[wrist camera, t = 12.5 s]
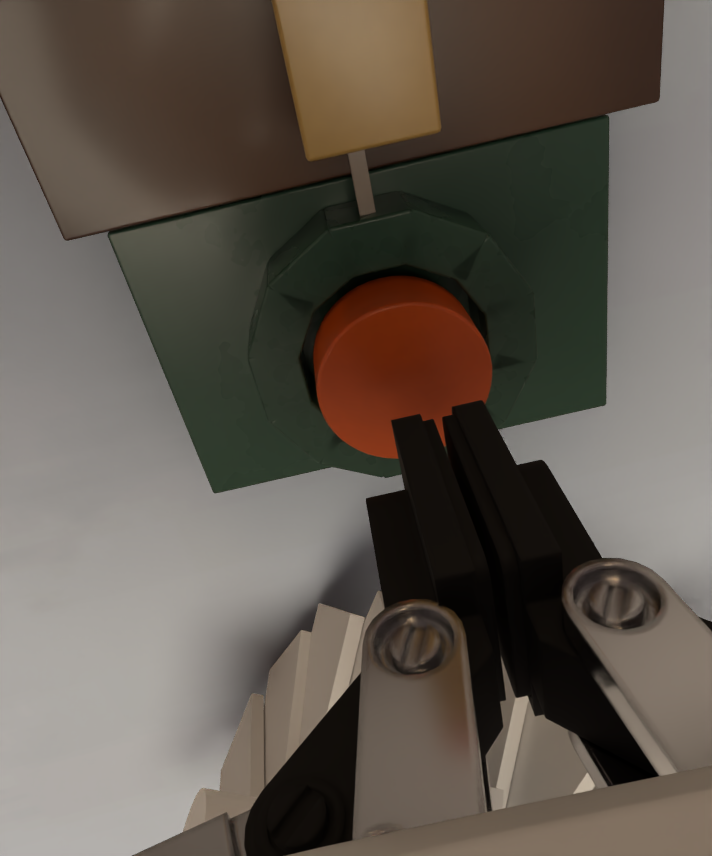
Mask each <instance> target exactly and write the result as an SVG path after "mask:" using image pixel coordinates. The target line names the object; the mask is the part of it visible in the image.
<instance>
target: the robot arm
mask: <svg viewBox="0 0 712 856" xmlns="http://www.w3.org/2000/svg"><path fill="white" fill-rule="evenodd" d="M442 423H443V430H444V436H445V443H446V449H447V453H446V450H445V448H444V445H443V442H442V440H441V437H440V435H439V432H438V429H437V427H436V424H435V421H434V419H430V420H426V421H423V420H422V417H421V415H420V414H416V415H412V416H407V417H403V418H398V419H394V420H391V424H392V429H393V434H394V439H395V444H396V448H397V453H398V458H399V463H400V468H401V473H402V478H403V483H404V487H405V490H402V491H397V492H393V493H388V494H384V495H379V496H375V497H370V498H366V504H367V510H368V516H369V521H370V527H371V533H372V539H373V544H374V550H375V556H376V562H377V568H378V573H379V579H380V585H381V591H382V596H383V602H384V608H385V609H384V610H382V611H381V612H380V613H379V614H378V615H377V616H376V617H375V618H373V620H372V621H371V623H370V624H369V626H368V628H367V629H366V631H365V635H364V639H363V644H362V663H361V673H360V674H359V675H358V676H357V678H356V679H355V680H354V681H353V682H352V684H351V685H350V686H349V687H348V688H347V690H346V691H345V692H344V693H343V694H342V696H341V697H340V698H339V699H338V700H337V702H336V703H335V704H334V705H333V706H332V708H331V709H330V710H329V711H328V712H327V714H326V715H325V716H324V717H323V718H322V720H321V721H320V722H319V723H318V724H317V726H316V727H315V728H314V729H313V730H312V732H311V733H310V734H309V735H308V736H307V738H306V739H305V740H304V741H303V742H302V744H301V745H300V746H299V747H298V748H297V750H296V751H295V752H294V753H293V754H292V756H291V757H290V758H289V759H288V760H287V762H286V763H285V764H284V765H283V766H282V768H281V769H280V770H279V771H278V772H277V774H276V775H275V776H274V777H273V778H272V780H271V781H270V782H269V783H268V784H267V786H266V787H265V788H264V789H263V790H262V792H261V793H260V795H259V796H258V798H257V800H256V801H255V803H254V804H253V806H252V807H251V809H250V810H248V811H246V812H244V813H241V814H239V815H237V816H235V817H233V818H230V816H229V815H228V813H227V812H226V813H223V814H221V815H219V816H217V817H215V818H213V819H210V820H208V821H206V822H204V823H202V824H200V825H197V826H195V827H193V828H191V829H189V830H187V831H184V832H182V833H180V834H178V835H176V836H174V837H171V838H169V839H167V840H165V841H163V842H161V843H158V844H156V845H154V846H152V847H150V848H148V849H145V850H143V851H141V852H139V853H137V854H135V855H132V856H712V622H711V621H708V620H705V619H702V618H700V617H698V616H697V615H696V614H695V613H694V612H693V610H692V609H691V608H690V607H689V606H688V605H687V604H686V603H685V602H684V601H683V600H682V599H681V598H680V596H679V595H678V594H677V593H676V592H675V591H674V590H673V589H672V588H671V587H670V586H669V585H668V583H667V582H666V581H665V580H664V579H663V578H661V577H660V576H659V575H658V574H657V573H655V572H654V571H653V570H652V569H650V568H648V567H646V566H643V565H641V564H639V563H637V562H634V561H629V560H625V559H621V558H602V557H601V555H600V553H599V552H598V550H597V548H596V547H595V545H594V543H593V542H592V540H591V538H590V537H589V535H588V533H587V532H586V530H585V528H584V527H583V525H582V523H581V521H580V520H579V518H578V516H577V515H576V513H575V511H574V510H573V508H572V506H571V505H570V503H569V501H568V500H567V498H566V496H565V494H564V493H563V491H562V489H561V488H560V486H559V484H558V483H557V481H556V479H555V478H554V476H553V474H552V473H551V471H550V469H549V468H548V466H547V465H546V463H545V462H544V461H542V460H538V461H533V462H529V463H524V464H520V465H516V463H515V461H514V459H513V457H512V455H511V453H510V452H509V450H508V448H507V446H506V444H505V442H504V440H503V438H502V436H501V434H500V433H499V431H498V429H497V427H496V425H495V423H494V421H493V419H492V417H491V415H490V413H489V412H488V410H487V408H486V406H485V404H484V402H483V401H482V400H479V401H474V402H470V403H465V404H461V405H457V406H452V415H448V416H444V417H442ZM501 657H502V660H503V663H504V666H505V669H506V672H507V675H508V678H509V681H510V684H511V687H512V689H513V692H514V695H515V697H516V698H520V697H524V696H528V699H529V701H530V704H531V707H532V710H533V712H534V715H535V716H539V715H544V716H545V718H546V719H548V720H550V721H552V722H553V723H555V724H557V725H559V726H561V727H563V728H565V729H567V730H568V735H569V738H570V741H571V743H572V746H573V748H574V750H575V751H576V753H577V755H578V756H579V758H580V760H581V762H582V763H583V765H584V767H585V769H586V770H587V772H588V774H589V776H590V777H591V779H592V781H593V782H594V784H595V786H596V788H597V789H595V790H590V791H585V792H581V793H576V794H571V795H566V796H561V797H557V798H552V799H547V800H542V801H537V802H532V803H528V804H523V805H518V806H513V807H508V808H503V809H499V810H494V811H493V807H492V799H491V790H490V782H489V773H488V765H487V759H486V754H487V753H488V751H489V749H490V748H491V746H492V745H493V743H494V741H495V740H496V738H497V737H498V735H499V733H500V732H501V730H502V729H503V719H502V712H501V704H500V702H501V701H505V700H506V694H505V686H504V678H503V670H502V662H501Z"/></svg>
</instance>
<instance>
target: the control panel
mask: <svg viewBox="0 0 712 856" xmlns="http://www.w3.org/2000/svg"><path fill="white" fill-rule="evenodd" d="M427 2H428V11H429V20H430V29H431V38H432V47H433V56H434V65H435V74H436V83H437V92H438V101H439V110H440V119H441V131H440V132H438V133H436V134H432V135H428V136H423V137H419V138H414V139H410V140H405V141H401V142H397V143H392V144H388V145H383V146H379V147H374V148H370V149H366V150H361V151H357V152H352V153H348V154H344V155H339V156H335V157H330V158H326V159H321V160H317V161H313V162H310V161H308V160H307V159H306V156H305V152H304V147H303V143H302V138H301V134H300V129H299V124H298V120H297V115H296V111H295V106H294V102H293V97H292V93H291V88H290V84H289V79H288V75H287V70H286V66H285V61H284V56H283V52H282V47H281V43H280V38H279V34H278V29H277V25H276V20H275V16H274V11H273V7H272V2H271V0H0V98H1V100H2V102H3V105H4V107H5V109H6V111H7V113H8V116H9V118H10V120H11V122H12V125H13V127H14V129H15V131H16V133H17V136H18V138H19V140H20V142H21V145H22V147H23V149H24V151H25V153H26V156H27V158H28V160H29V162H30V165H31V167H32V169H33V171H34V174H35V176H36V178H37V180H38V182H39V185H40V187H41V189H42V191H43V194H44V196H45V198H46V200H47V202H48V205H49V207H50V209H51V211H52V214H53V216H54V218H55V220H56V222H57V225H58V227H59V229H60V231H61V234H62V236H63V238H64V239H65V240H66V241H69V240H73V239H78V238H82V237H86V236H90V235H95V234H99V233H103V232H107V231H112V230H116V229H120V228H124V227H129V226H133V225H137V224H141V223H146V222H150V221H154V220H158V219H162V218H167V217H171V216H175V215H179V214H184V213H188V212H192V211H196V210H201V209H205V208H209V207H213V206H218V205H222V204H226V203H230V202H235V201H239V200H243V199H247V198H252V197H256V196H260V195H264V194H269V193H273V192H277V191H281V190H286V189H290V188H294V187H298V186H303V185H307V184H311V183H315V182H320V181H324V180H328V179H332V178H337V177H341V176H345V175H349V174H351V175H352V180H353V185H354V190H355V195H356V200H357V206H358V211H359V215H360V216H362V215H367V214H371V213H375V212H376V210H375V204H374V199H373V193H372V188H371V182H370V177H369V171H368V170H371V169H375V168H379V167H383V166H387V165H392V164H396V163H400V162H404V161H409V160H413V159H417V158H421V157H426V156H430V155H434V154H438V153H443V152H447V151H451V150H455V149H460V148H464V147H468V146H472V145H477V144H481V143H485V142H489V141H494V140H498V139H502V138H506V137H511V136H515V135H519V134H523V133H528V132H532V131H536V130H540V129H545V128H549V127H553V126H557V125H562V124H566V123H570V122H574V121H579V120H583V119H587V118H591V117H596V116H600V115H604V114H608V113H612V112H617V111H621V110H625V109H629V108H634V107H638V106H642V105H646V104H651V103H655V102H657V101H659V99H660V79H661V58H662V38H663V17H664V0H427Z"/></svg>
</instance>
